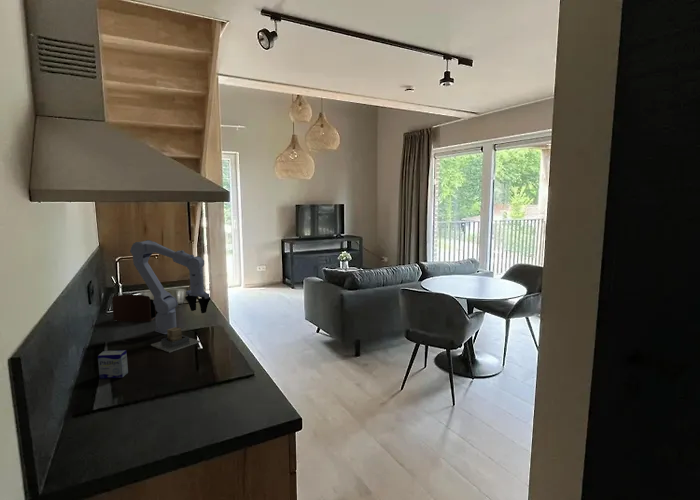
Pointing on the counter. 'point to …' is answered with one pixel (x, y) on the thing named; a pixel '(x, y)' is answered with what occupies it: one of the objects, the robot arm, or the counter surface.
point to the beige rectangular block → (174, 334)
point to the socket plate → (174, 344)
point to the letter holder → (133, 308)
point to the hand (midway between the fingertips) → (198, 311)
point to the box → (112, 364)
